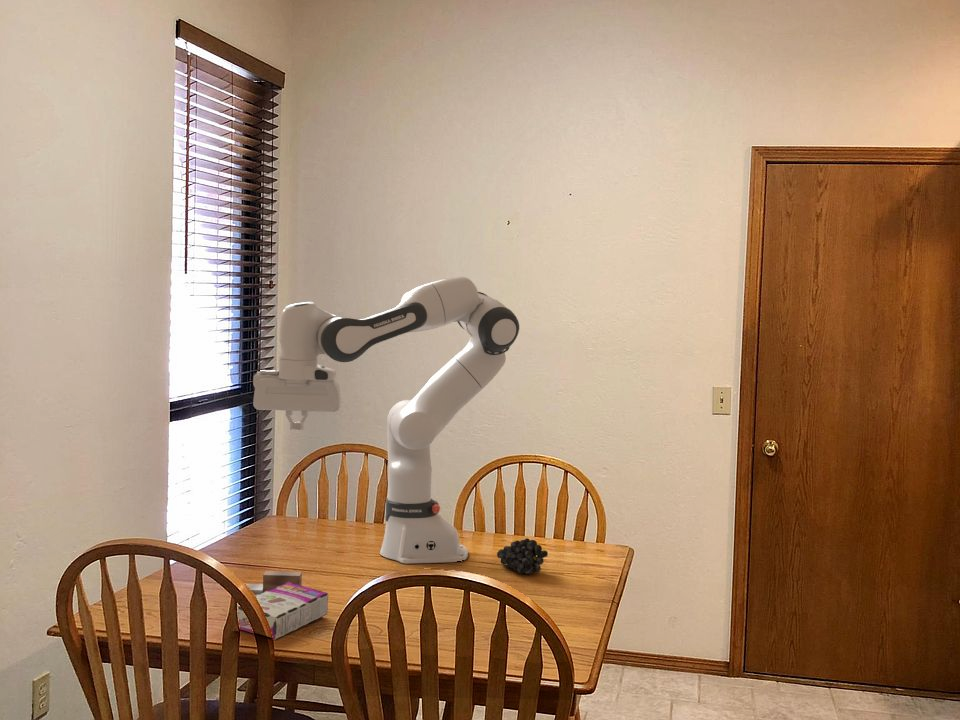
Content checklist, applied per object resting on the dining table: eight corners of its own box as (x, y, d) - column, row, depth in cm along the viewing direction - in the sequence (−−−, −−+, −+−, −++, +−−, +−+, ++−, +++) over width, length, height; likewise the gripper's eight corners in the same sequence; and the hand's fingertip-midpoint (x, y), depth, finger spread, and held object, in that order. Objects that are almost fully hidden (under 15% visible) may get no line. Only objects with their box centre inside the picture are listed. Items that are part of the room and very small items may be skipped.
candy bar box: (287, 603, 209) (231, 627, 195) (288, 581, 209) (232, 603, 195) (328, 616, 204) (274, 641, 190) (329, 592, 203) (275, 616, 189)
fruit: (493, 527, 246) (532, 539, 234) (517, 534, 251) (556, 546, 239) (483, 562, 245) (523, 575, 233) (508, 567, 250) (547, 581, 238)
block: (301, 588, 221) (302, 570, 221) (298, 594, 216) (299, 576, 216) (243, 587, 221) (243, 569, 220) (239, 593, 216) (239, 575, 216)
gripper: (250, 371, 227) (249, 430, 228) (339, 373, 228) (338, 432, 229) (256, 368, 234) (255, 426, 235) (342, 371, 234) (341, 429, 235)
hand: (296, 429), depth 232 cm, fingers closed
